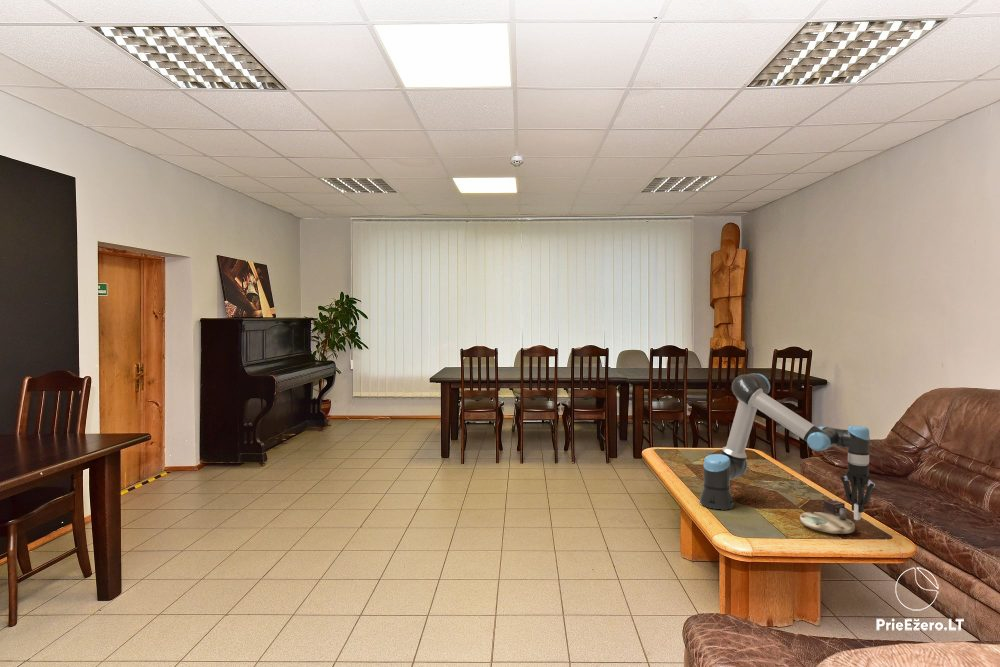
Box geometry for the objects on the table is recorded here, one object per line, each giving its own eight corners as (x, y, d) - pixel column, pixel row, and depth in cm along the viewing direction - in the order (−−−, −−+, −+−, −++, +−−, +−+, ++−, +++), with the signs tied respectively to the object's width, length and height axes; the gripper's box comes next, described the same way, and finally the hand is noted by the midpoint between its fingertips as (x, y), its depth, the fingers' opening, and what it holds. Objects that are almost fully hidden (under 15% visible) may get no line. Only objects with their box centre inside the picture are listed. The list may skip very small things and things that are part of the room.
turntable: (821, 534, 221) (821, 518, 221) (789, 517, 241) (790, 502, 240) (866, 532, 223) (866, 517, 223) (831, 515, 243) (831, 501, 243)
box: (834, 521, 240) (834, 504, 240) (822, 516, 246) (822, 500, 246) (844, 519, 242) (845, 503, 242) (833, 515, 248) (833, 499, 248)
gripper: (880, 465, 224) (879, 522, 224) (846, 458, 235) (845, 513, 235) (871, 468, 220) (870, 525, 220) (837, 461, 231) (836, 516, 231)
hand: (857, 519), depth 228 cm, fingers closed
